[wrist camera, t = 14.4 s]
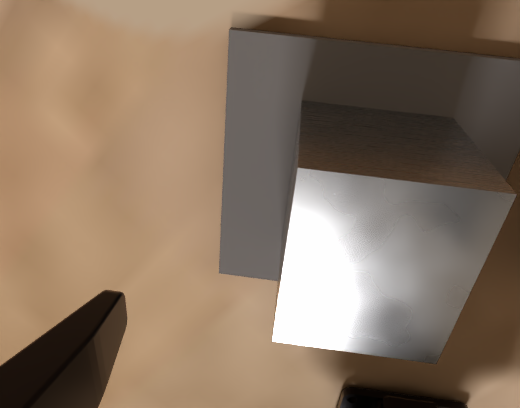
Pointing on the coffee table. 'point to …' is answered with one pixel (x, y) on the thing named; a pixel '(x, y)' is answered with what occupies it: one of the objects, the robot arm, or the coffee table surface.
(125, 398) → the coffee table surface
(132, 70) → the coffee table surface
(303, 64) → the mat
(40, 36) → the coffee table surface
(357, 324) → the cap block
